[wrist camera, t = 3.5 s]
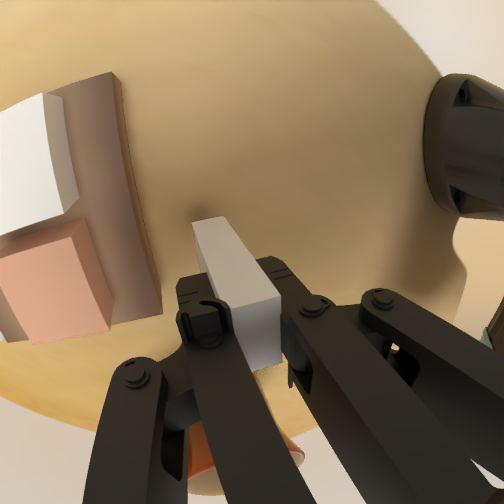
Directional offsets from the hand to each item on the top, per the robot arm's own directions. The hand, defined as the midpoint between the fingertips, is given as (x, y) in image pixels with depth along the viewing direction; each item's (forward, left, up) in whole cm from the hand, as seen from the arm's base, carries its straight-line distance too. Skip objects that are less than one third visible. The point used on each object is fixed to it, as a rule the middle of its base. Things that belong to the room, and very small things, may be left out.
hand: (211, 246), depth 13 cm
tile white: (+8, -6, -1) cm, 10 cm away
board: (+9, -2, -4) cm, 11 cm away
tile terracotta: (+8, 0, -1) cm, 8 cm away
